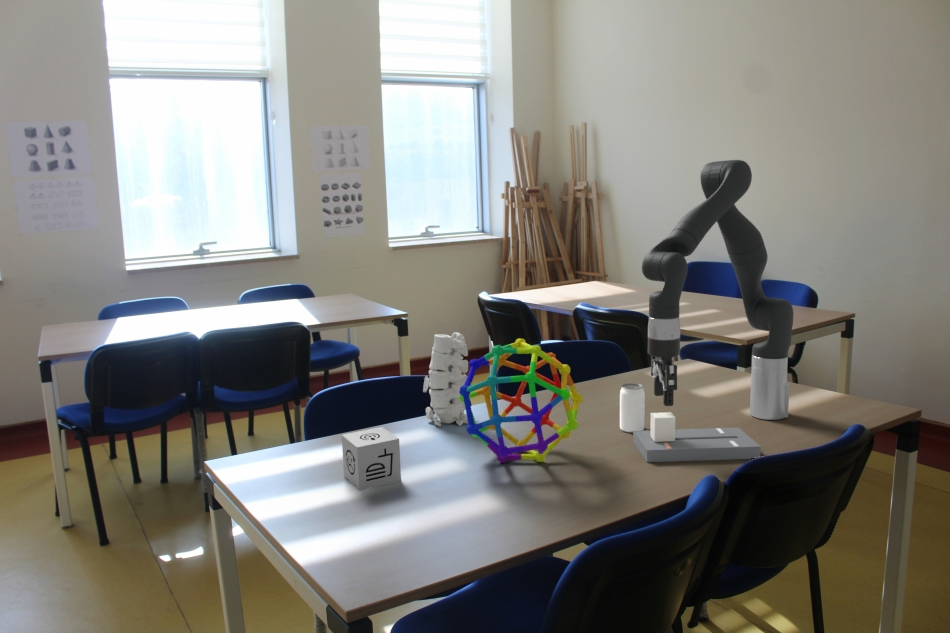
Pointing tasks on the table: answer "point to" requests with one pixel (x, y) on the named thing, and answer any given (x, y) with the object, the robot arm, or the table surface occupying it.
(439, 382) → the anatomical model
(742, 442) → the slide board
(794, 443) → the table surface
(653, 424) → the fader cap
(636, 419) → the can
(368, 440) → the icon cube
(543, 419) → the geometric model
